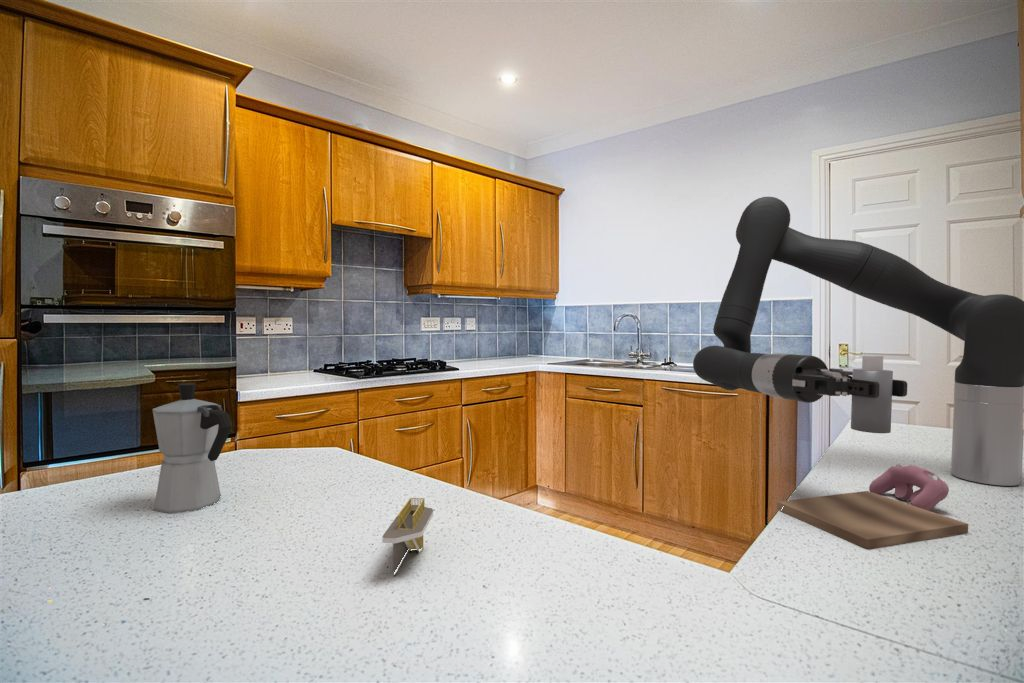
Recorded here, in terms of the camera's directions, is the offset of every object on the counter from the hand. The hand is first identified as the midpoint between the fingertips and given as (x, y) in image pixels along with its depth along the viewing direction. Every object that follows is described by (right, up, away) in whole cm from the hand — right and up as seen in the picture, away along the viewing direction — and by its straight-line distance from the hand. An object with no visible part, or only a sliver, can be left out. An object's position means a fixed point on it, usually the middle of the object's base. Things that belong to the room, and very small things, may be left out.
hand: (891, 389), depth 69 cm
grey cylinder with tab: (-1, -6, +3) cm, 7 cm away
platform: (-63, -19, -10) cm, 67 cm away
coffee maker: (-99, -18, +7) cm, 100 cm away
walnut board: (-1, -19, +3) cm, 19 cm away
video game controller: (+10, -19, +11) cm, 24 cm away
